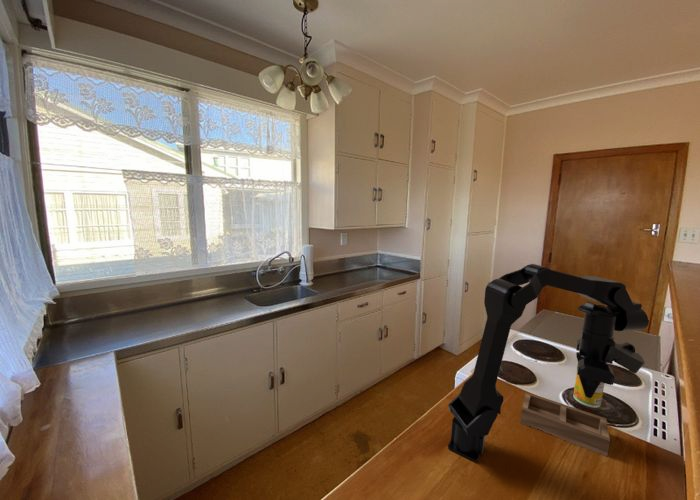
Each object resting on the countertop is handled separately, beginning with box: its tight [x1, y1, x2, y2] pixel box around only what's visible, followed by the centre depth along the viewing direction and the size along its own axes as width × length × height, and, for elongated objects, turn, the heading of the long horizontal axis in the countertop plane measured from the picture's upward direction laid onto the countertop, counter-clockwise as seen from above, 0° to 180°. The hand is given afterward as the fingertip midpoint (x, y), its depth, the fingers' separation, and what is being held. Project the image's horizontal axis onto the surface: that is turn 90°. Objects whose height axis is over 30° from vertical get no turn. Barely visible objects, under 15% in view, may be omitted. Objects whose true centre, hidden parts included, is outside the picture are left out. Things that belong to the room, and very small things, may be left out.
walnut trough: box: [519, 391, 611, 457], centre depth 78 cm, size 9×18×4 cm, turn 54°
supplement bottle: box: [573, 374, 606, 409], centre depth 74 cm, size 5×5×10 cm
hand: (587, 391), depth 74 cm, fingers closed on supplement bottle, 5 cm apart
